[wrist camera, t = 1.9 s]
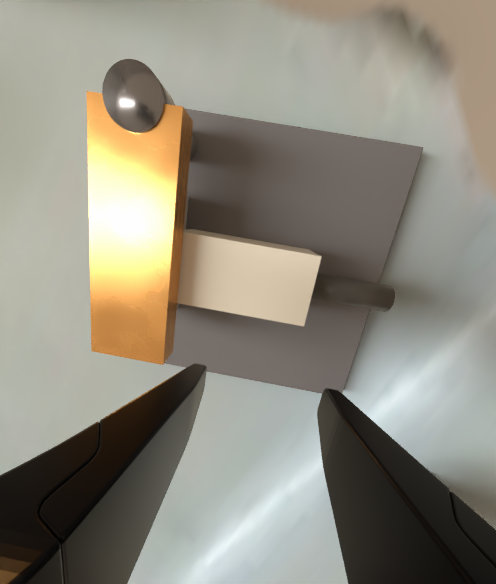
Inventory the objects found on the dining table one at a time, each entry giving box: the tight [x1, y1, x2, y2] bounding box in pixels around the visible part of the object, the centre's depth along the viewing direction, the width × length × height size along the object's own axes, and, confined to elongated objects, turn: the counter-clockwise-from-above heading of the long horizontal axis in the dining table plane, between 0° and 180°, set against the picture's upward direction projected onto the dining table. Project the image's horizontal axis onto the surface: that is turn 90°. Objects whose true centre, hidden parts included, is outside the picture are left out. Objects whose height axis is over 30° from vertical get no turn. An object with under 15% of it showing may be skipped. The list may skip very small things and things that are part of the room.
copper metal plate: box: [87, 59, 193, 365], centre depth 12 cm, size 4×13×2 cm, turn 170°
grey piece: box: [165, 109, 423, 394], centre depth 15 cm, size 16×18×5 cm
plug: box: [177, 229, 395, 326], centre depth 15 cm, size 13×4×4 cm, turn 81°
